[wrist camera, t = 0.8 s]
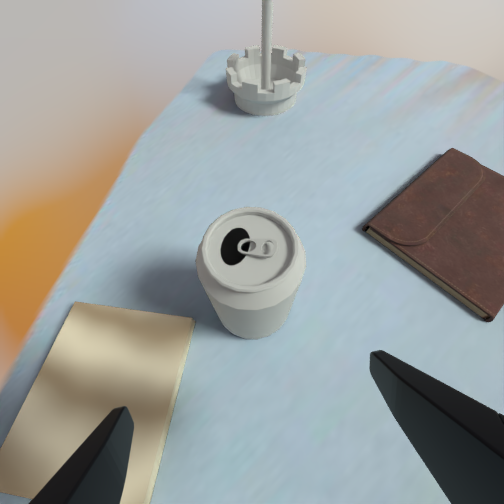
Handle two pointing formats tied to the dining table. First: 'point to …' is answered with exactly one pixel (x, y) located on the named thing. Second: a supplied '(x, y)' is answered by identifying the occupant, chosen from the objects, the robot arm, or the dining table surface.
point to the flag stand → (266, 74)
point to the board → (99, 395)
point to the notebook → (451, 230)
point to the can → (251, 270)
